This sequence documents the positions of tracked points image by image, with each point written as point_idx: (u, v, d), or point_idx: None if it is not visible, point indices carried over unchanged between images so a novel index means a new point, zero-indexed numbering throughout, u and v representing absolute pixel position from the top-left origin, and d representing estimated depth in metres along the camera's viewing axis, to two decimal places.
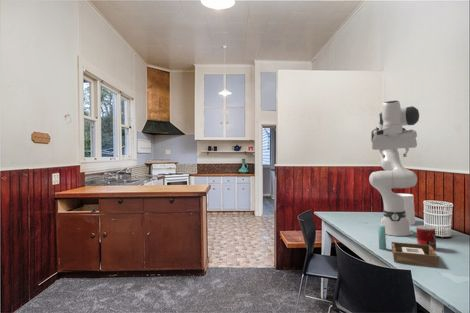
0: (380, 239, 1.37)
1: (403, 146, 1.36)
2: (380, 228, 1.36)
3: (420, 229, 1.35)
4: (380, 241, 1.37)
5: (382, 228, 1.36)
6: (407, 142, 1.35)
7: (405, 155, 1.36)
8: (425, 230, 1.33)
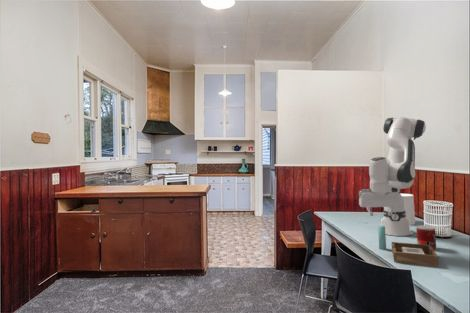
0: (380, 239, 1.37)
1: None
2: (380, 228, 1.36)
3: (420, 229, 1.35)
4: (380, 241, 1.37)
5: (382, 228, 1.36)
6: None
7: None
8: (425, 230, 1.33)
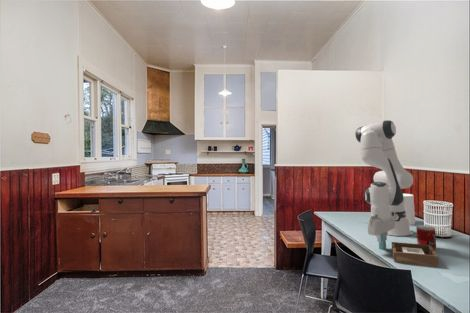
0: None
1: None
2: None
3: (420, 229, 1.35)
4: None
5: None
6: None
7: None
8: (425, 230, 1.33)
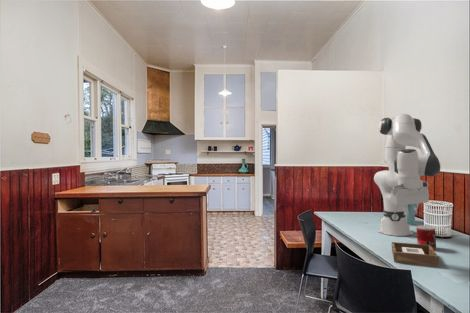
0: None
1: None
2: None
3: (420, 229, 1.35)
4: None
5: None
6: None
7: None
8: (425, 230, 1.33)
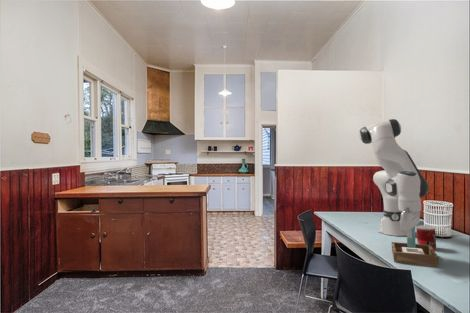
0: None
1: None
2: None
3: (420, 229, 1.35)
4: None
5: None
6: None
7: None
8: (425, 230, 1.33)
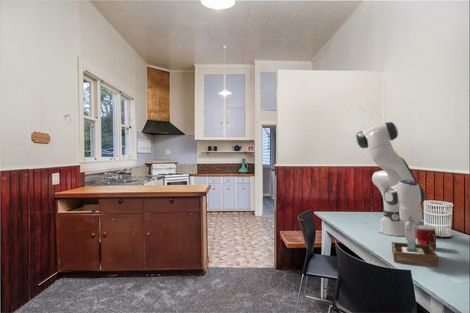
0: None
1: None
2: None
3: (420, 229, 1.35)
4: None
5: None
6: None
7: None
8: (425, 230, 1.33)
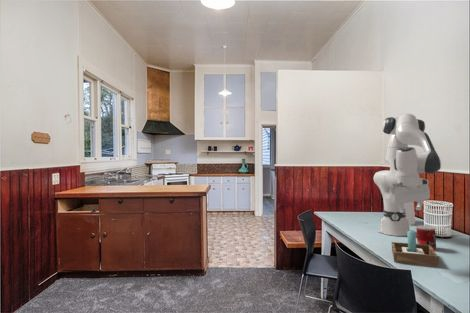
0: (411, 246, 1.22)
1: None
2: (411, 234, 1.22)
3: (420, 229, 1.35)
4: (411, 248, 1.22)
5: (414, 234, 1.22)
6: None
7: None
8: (425, 230, 1.33)
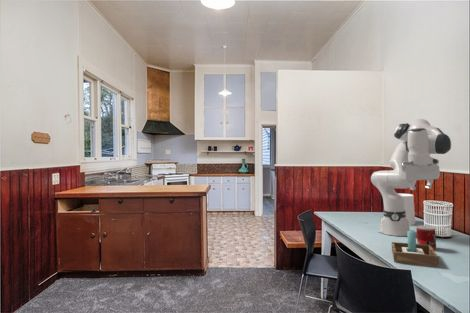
0: (411, 246, 1.22)
1: None
2: (411, 234, 1.22)
3: (420, 229, 1.35)
4: (411, 248, 1.22)
5: (414, 234, 1.22)
6: None
7: None
8: (425, 230, 1.33)
